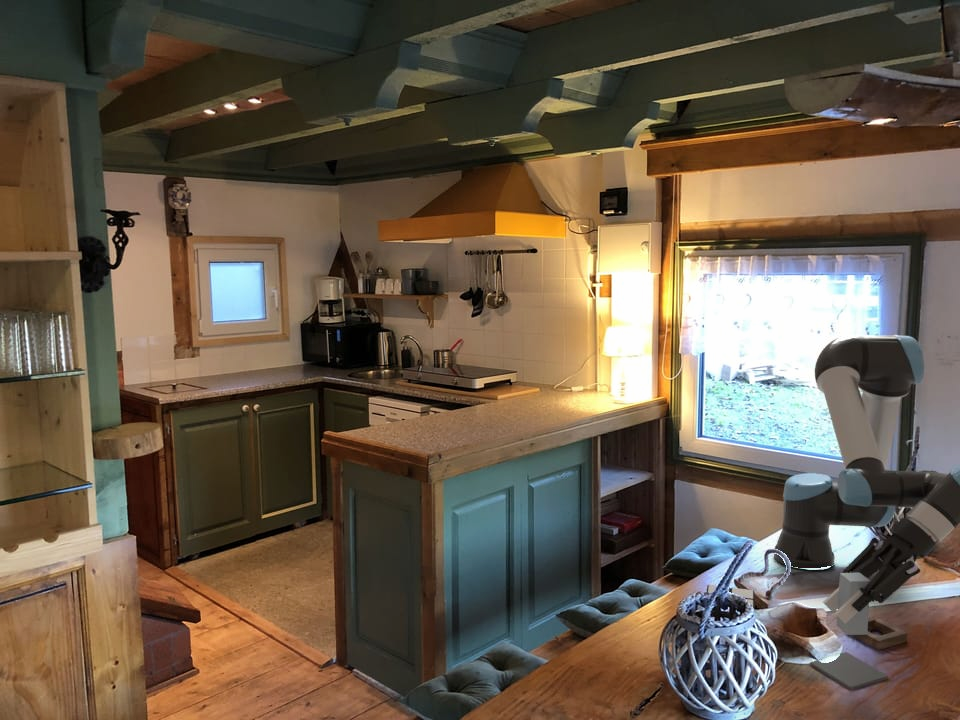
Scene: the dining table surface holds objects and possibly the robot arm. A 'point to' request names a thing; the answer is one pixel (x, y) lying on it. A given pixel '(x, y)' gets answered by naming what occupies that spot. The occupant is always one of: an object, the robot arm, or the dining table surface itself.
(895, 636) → the frame
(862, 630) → the slate block
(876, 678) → the rubber pad
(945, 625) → the dining table surface
